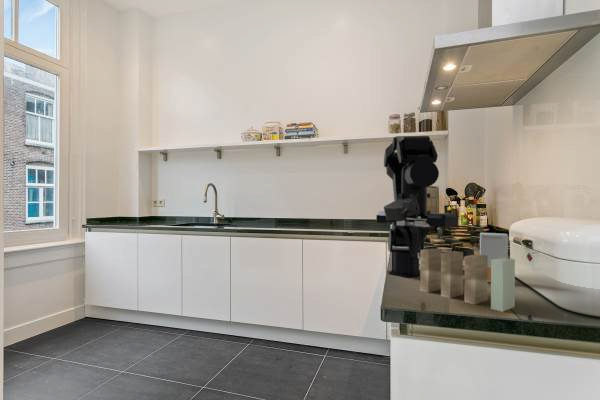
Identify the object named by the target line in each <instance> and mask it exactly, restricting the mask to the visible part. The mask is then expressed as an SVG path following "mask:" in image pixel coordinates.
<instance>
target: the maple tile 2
mask: <svg viewBox="0 0 600 400" xmlns="http://www.w3.org/2000/svg"><path fill="white" fill-rule="evenodd" d="M463 295H464V252H463V251H458V250H457V251H454V250H453V251H446V252H442V253H441V290H440V297H444V298H447V299H452V298H456V297H460V296H463Z"/></svg>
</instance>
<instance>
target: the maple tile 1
mask: <svg viewBox="0 0 600 400" xmlns="http://www.w3.org/2000/svg"><path fill="white" fill-rule="evenodd" d="M441 253H443V252H442V249H441V248H433V247H432V248H425V249H423V250H420V256H419V257H420V258H419V272H420V277H419V280H420V281H419V291H421V292H424V293H431V292H436V291H439V290H440V291H441Z"/></svg>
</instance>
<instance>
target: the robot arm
mask: <svg viewBox="0 0 600 400" xmlns="http://www.w3.org/2000/svg"><path fill="white" fill-rule="evenodd" d="M391 142H392V143H390V144H389V145H388V146H387V147H386V148H385V150H384V157H383V168H385V170H386V175H387V176H388V177H389V178H390V180H392V188H393V189H392V190H393V199H394V201H392V202H390V203H388V204H386V205H384V206H383V210H384V211H382V210H381V211H378V212H377V214H376V216H375V217H376V218H375V219H376V223H380V224H386V223H391V222H392V224H391V229H389V231H388V232H389V233H388V240H387V250H388V251H389V253H391V270H388V271H387V273H388V274H392V275H396V276H399V277H403V278H404V277H405V278H410V277H414V276H419V275H420V258H419V253H420V250H424V245H425V239H426V237H427V236H428V234H429V232H430V231H431V230H432V229H435V228H456V227H459V218H458V216H457V215H456V213H448V212H447V213H446V212H444V213H443V212H442V213H441V212H439V213H437V212H432V213H431V210H428V199H429V198H430V199H431V193H429V192H428V187H430V186H433V185H434V184H435V183H436V182H437V180H438V178H439V176H440V172H439V169H438V166H437V165H436V164H435V163H436V162H437V160H438V155H439V154H438V153H437V150H436V146H435V144H434V142H433V140H431V138H430V136H429V135H399V136H398V135H397V136H394V137H393V138H392V141H391Z"/></svg>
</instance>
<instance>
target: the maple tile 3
mask: <svg viewBox="0 0 600 400" xmlns="http://www.w3.org/2000/svg"><path fill="white" fill-rule="evenodd" d="M487 267H488V256H487V255H480V253H479V254H477V253H476V254H472V255H465V256H464V290H463V295H464V302H465V303H467V304H471V305H478V304H481V303H484V302H486V301H488V282H487Z"/></svg>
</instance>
